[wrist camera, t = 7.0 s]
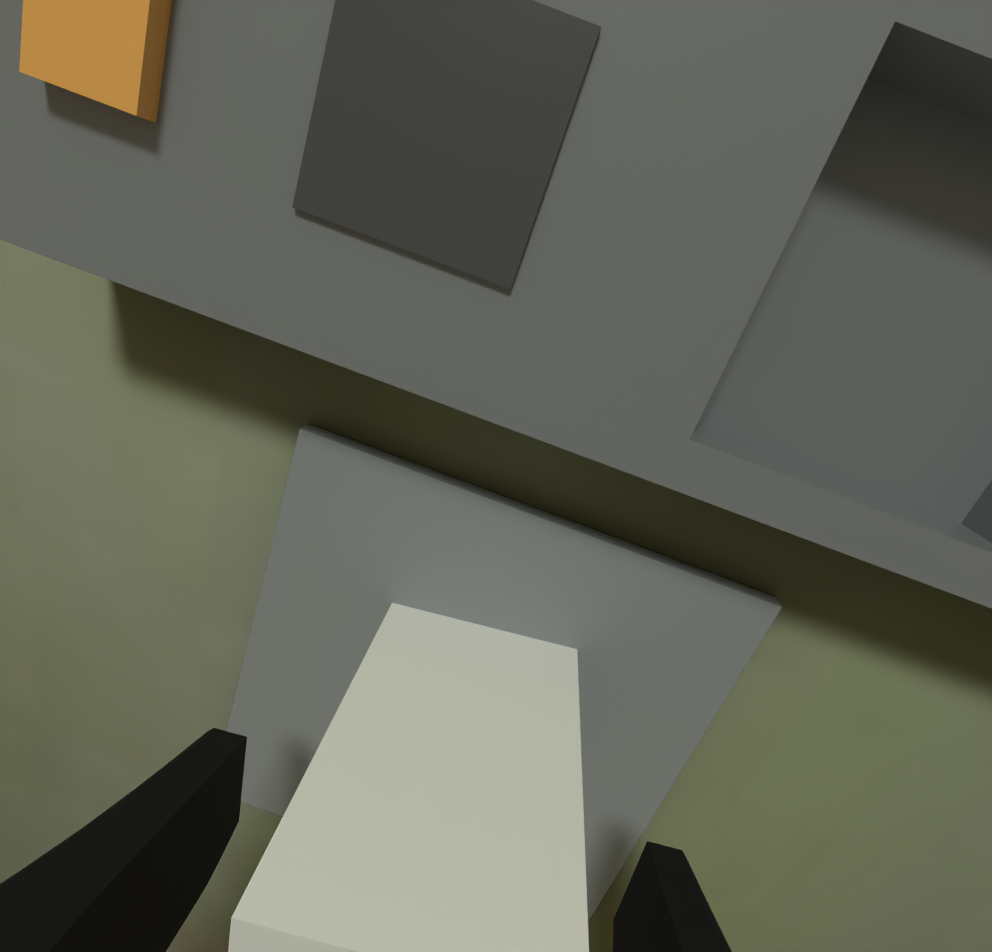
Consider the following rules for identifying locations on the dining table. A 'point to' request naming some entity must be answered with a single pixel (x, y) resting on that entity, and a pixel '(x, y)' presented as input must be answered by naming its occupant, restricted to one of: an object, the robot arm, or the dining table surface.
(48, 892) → the robot arm
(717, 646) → the pad
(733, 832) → the dining table surface
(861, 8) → the power strip
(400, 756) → the block
